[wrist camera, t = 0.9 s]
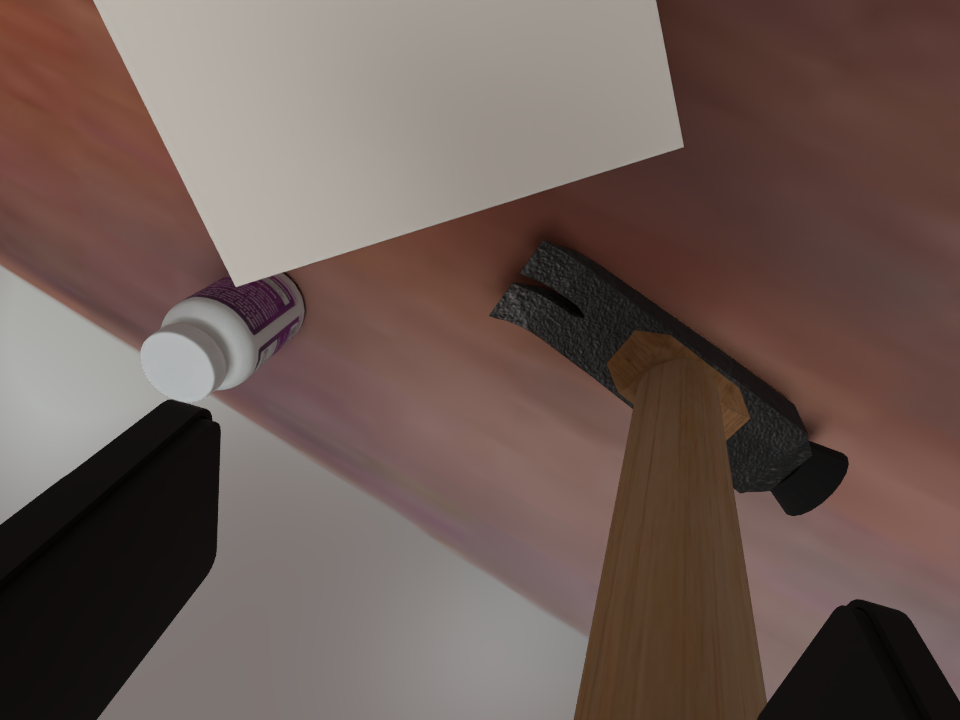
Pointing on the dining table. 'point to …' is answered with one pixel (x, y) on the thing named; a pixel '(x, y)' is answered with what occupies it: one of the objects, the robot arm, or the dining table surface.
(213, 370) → the pill bottle
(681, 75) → the dining table surface
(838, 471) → the hammer
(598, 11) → the desk
